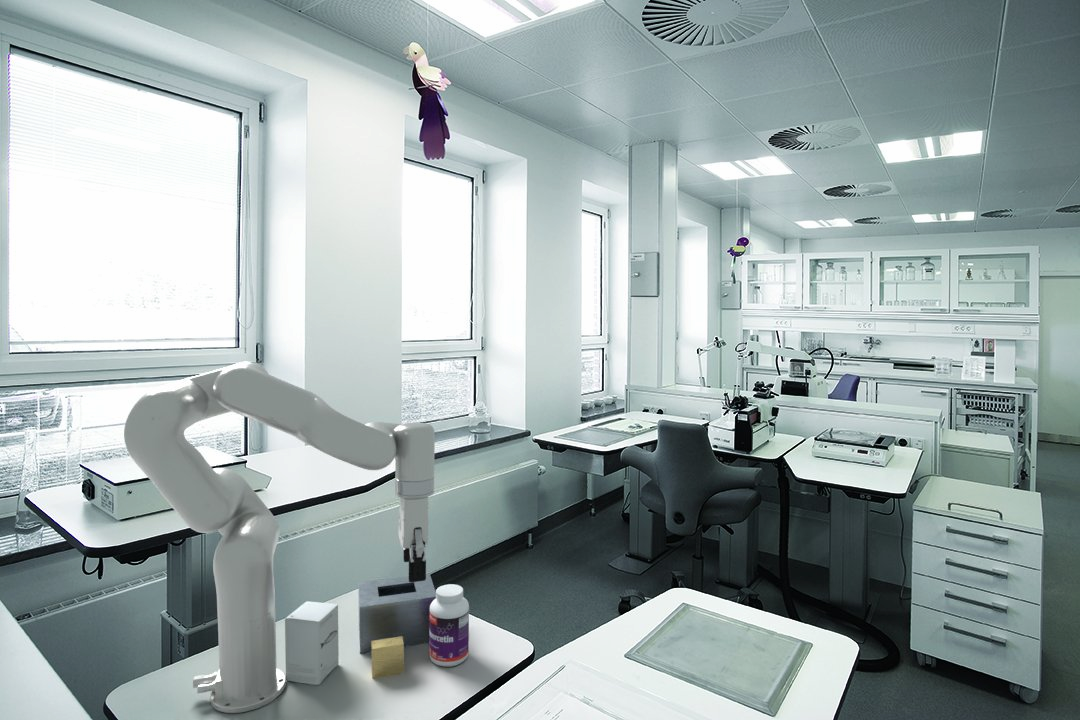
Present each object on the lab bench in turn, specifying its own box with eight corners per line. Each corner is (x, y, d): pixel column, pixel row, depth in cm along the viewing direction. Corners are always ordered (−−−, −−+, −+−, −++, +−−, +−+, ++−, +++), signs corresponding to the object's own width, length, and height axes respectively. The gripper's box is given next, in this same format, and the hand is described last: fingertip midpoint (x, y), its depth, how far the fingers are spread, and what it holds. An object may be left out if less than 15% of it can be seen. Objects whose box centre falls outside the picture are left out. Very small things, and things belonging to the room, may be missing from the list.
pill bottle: (421, 662, 120) (420, 593, 119) (445, 643, 127) (445, 578, 126) (453, 673, 117) (453, 602, 116) (476, 653, 124) (476, 586, 123)
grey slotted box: (360, 653, 123) (359, 607, 122) (358, 625, 134) (358, 582, 134) (437, 641, 128) (437, 596, 127) (429, 614, 140) (429, 573, 139)
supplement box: (319, 686, 112) (318, 622, 111) (284, 681, 114) (283, 617, 113) (340, 664, 119) (339, 603, 118) (307, 659, 121) (305, 599, 120)
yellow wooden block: (372, 678, 115) (371, 648, 114) (371, 670, 118) (371, 640, 117) (403, 673, 117) (403, 643, 116) (402, 664, 119) (402, 636, 119)
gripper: (391, 476, 124) (391, 556, 125) (399, 500, 107) (398, 592, 108) (428, 473, 126) (427, 552, 127) (440, 497, 110) (439, 587, 111)
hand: (414, 570), depth 118 cm, fingers open, 9 cm apart
